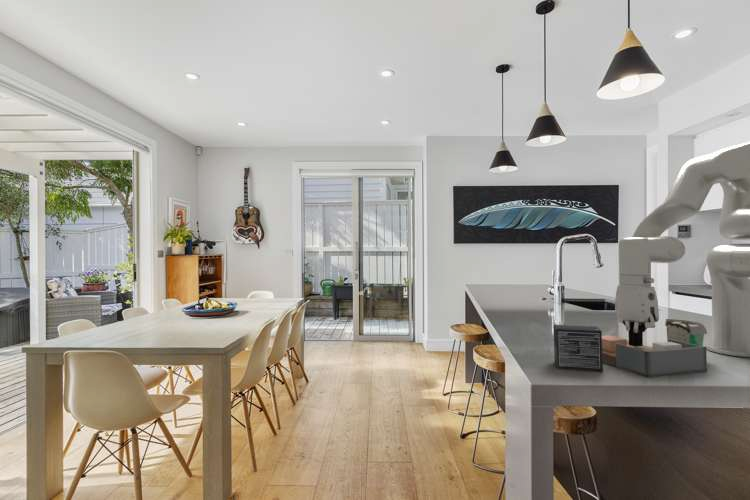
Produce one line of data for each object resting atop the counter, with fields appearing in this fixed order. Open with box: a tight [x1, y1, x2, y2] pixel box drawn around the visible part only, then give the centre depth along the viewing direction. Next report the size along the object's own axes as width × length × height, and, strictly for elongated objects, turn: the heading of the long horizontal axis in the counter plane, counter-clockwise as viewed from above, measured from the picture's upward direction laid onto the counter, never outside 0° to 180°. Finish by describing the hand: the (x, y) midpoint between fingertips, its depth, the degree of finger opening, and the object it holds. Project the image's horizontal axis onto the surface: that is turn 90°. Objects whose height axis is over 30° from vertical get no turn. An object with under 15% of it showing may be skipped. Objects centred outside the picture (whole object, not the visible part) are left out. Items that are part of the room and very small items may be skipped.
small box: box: [553, 324, 604, 373], centre depth 97 cm, size 11×6×10 cm, turn 71°
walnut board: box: [602, 340, 653, 367], centre depth 106 cm, size 18×13×2 cm
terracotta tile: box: [602, 334, 628, 352], centre depth 105 cm, size 6×6×3 cm
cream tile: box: [651, 341, 682, 351], centre depth 96 cm, size 6×6×3 cm
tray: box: [615, 339, 708, 379], centre depth 95 cm, size 18×9×6 cm, turn 103°
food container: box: [664, 318, 708, 346], centre depth 103 cm, size 12×6×10 cm, turn 168°
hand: (635, 345), depth 106 cm, fingers closed
